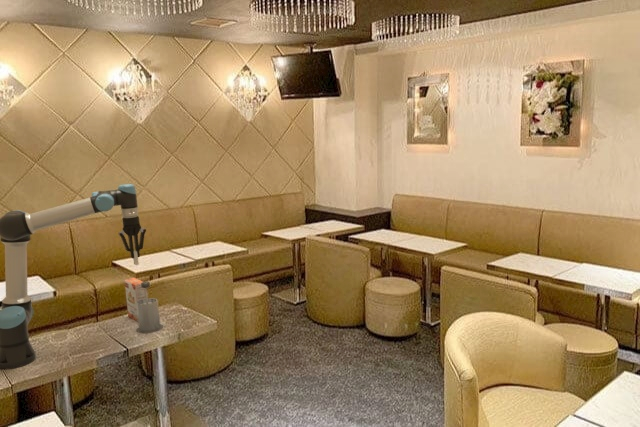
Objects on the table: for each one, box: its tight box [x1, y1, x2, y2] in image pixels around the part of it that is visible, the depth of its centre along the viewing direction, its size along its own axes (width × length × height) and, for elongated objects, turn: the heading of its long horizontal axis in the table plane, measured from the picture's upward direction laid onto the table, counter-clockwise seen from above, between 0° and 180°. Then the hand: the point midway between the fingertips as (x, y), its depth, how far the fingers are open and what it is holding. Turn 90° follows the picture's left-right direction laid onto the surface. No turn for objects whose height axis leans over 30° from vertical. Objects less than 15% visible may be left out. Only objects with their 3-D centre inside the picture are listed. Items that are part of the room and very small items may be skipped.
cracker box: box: [124, 277, 146, 322], centre depth 277 cm, size 14×6×21 cm, turn 42°
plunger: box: [141, 281, 153, 304], centre depth 260 cm, size 7×7×12 cm
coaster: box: [135, 323, 164, 335], centre depth 263 cm, size 13×13×1 cm
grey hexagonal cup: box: [136, 297, 161, 332], centre depth 262 cm, size 10×10×14 cm
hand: (136, 264), depth 257 cm, fingers closed
